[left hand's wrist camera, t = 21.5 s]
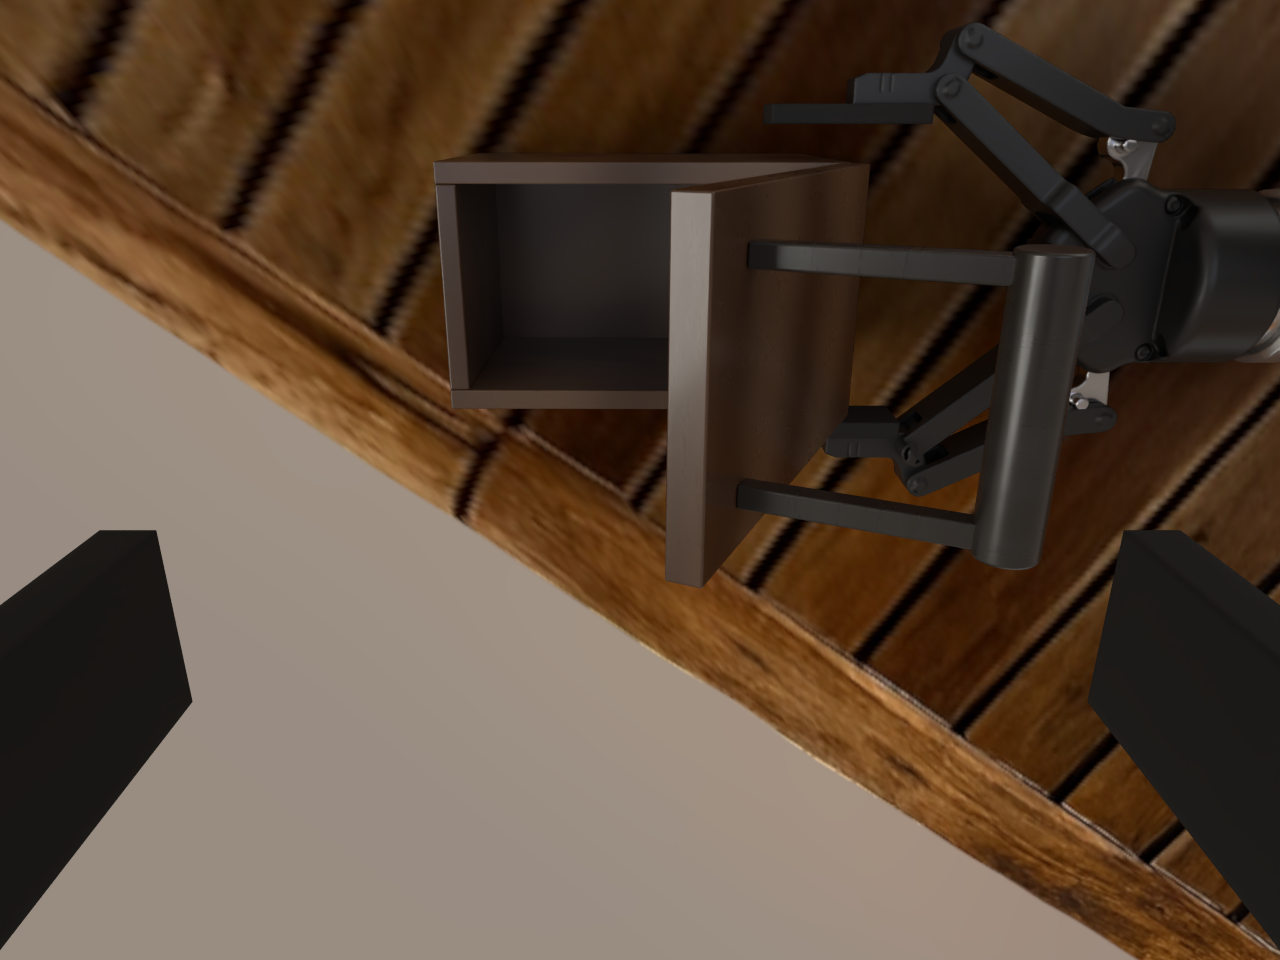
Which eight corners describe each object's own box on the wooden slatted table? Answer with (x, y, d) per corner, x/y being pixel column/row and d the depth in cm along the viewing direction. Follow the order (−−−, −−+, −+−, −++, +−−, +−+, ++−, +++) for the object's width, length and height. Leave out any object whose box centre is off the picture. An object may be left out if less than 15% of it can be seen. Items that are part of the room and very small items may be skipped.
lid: (663, 581, 24) (1025, 659, 20) (669, 189, 20) (1109, 203, 17) (822, 412, 38) (1052, 441, 35) (842, 162, 34) (1101, 167, 31)
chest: (491, 349, 49) (451, 408, 38) (479, 152, 45) (432, 161, 35) (792, 349, 49) (832, 409, 38) (804, 153, 45) (852, 162, 35)
